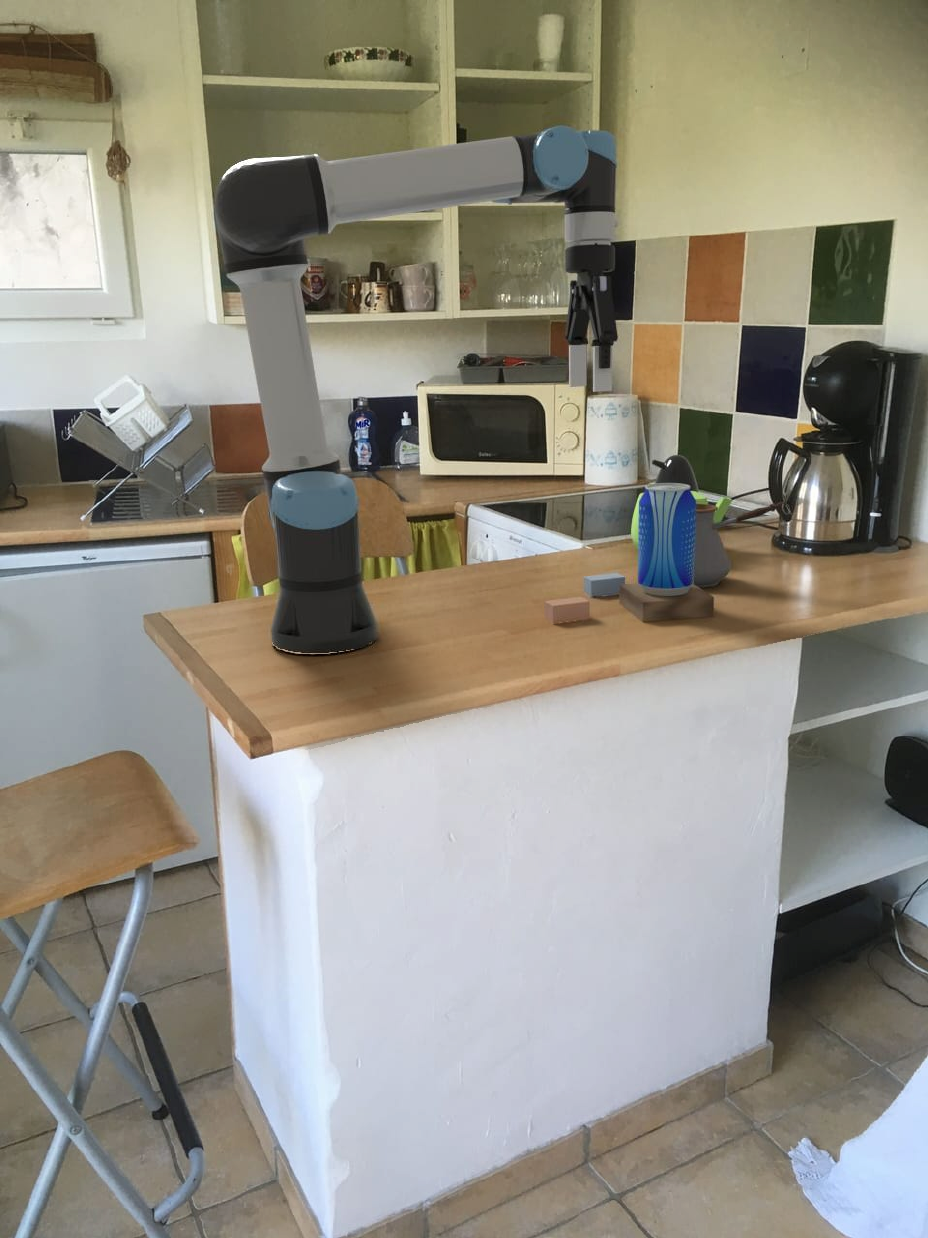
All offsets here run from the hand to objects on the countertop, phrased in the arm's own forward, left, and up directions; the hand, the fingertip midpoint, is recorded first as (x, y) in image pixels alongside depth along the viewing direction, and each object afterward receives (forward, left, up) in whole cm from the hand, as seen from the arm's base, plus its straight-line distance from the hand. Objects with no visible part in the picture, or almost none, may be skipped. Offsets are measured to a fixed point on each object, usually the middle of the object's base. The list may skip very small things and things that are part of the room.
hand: (589, 388), depth 159 cm
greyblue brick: (+2, -2, -33) cm, 33 cm away
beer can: (+8, -14, -30) cm, 34 cm away
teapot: (+25, +23, -33) cm, 47 cm away
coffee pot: (+22, -3, -33) cm, 40 cm away
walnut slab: (+8, -14, -33) cm, 36 cm away
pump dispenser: (+33, +48, -33) cm, 67 cm away
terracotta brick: (-8, -15, -33) cm, 37 cm away
